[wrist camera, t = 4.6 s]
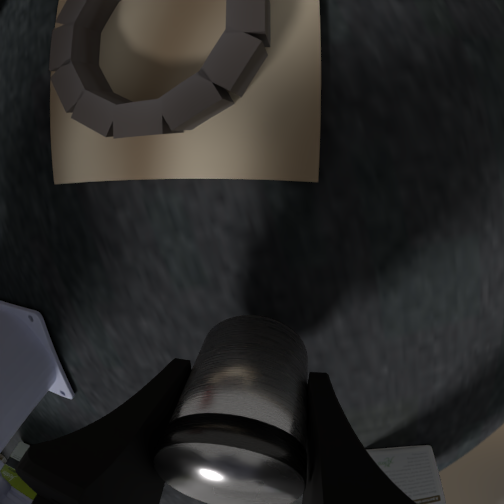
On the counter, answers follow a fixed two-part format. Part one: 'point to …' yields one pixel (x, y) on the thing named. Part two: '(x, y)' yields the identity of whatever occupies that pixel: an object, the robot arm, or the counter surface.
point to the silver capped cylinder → (241, 417)
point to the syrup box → (412, 471)
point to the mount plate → (225, 141)
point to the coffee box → (2, 459)
